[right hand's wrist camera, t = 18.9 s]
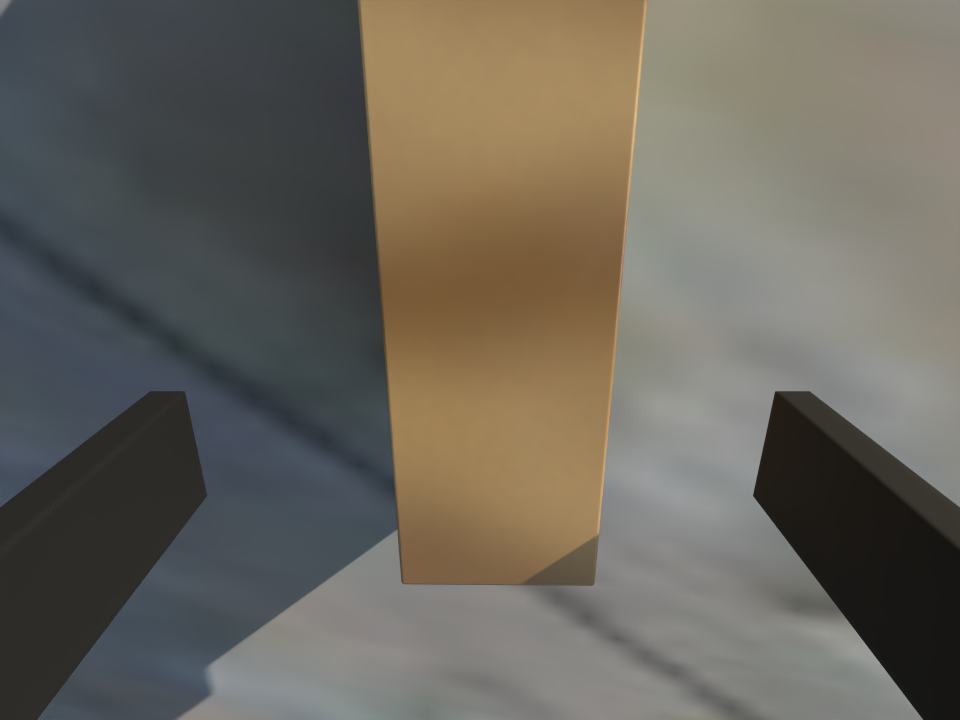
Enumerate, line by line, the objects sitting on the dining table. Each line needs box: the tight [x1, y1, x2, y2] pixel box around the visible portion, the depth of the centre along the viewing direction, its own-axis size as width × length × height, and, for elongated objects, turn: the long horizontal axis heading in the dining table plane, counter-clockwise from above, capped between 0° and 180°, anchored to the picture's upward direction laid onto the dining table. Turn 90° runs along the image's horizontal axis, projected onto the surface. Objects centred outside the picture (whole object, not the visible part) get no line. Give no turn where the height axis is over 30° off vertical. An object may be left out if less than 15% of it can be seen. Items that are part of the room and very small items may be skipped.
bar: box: [357, 0, 647, 586], centre depth 13 cm, size 24×5×9 cm, turn 0°
